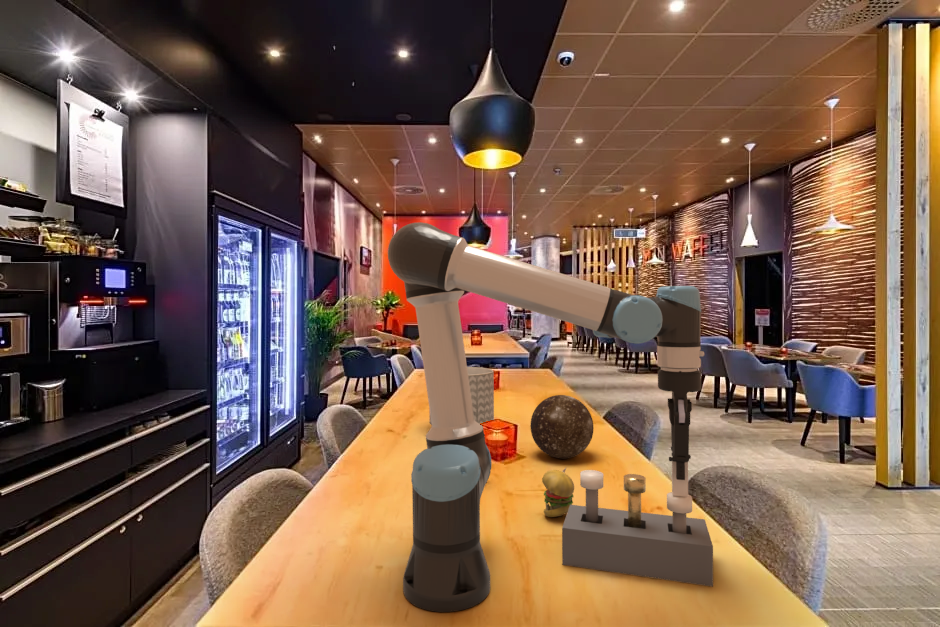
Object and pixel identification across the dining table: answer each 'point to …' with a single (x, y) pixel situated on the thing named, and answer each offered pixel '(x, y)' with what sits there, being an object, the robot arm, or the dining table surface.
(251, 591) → the dining table surface
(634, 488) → the amber round-headed peg
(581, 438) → the decorative sphere
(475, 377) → the planter
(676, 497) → the knob
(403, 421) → the dining table surface
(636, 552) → the mount block
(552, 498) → the hamburger
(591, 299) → the robot arm
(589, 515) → the knob
